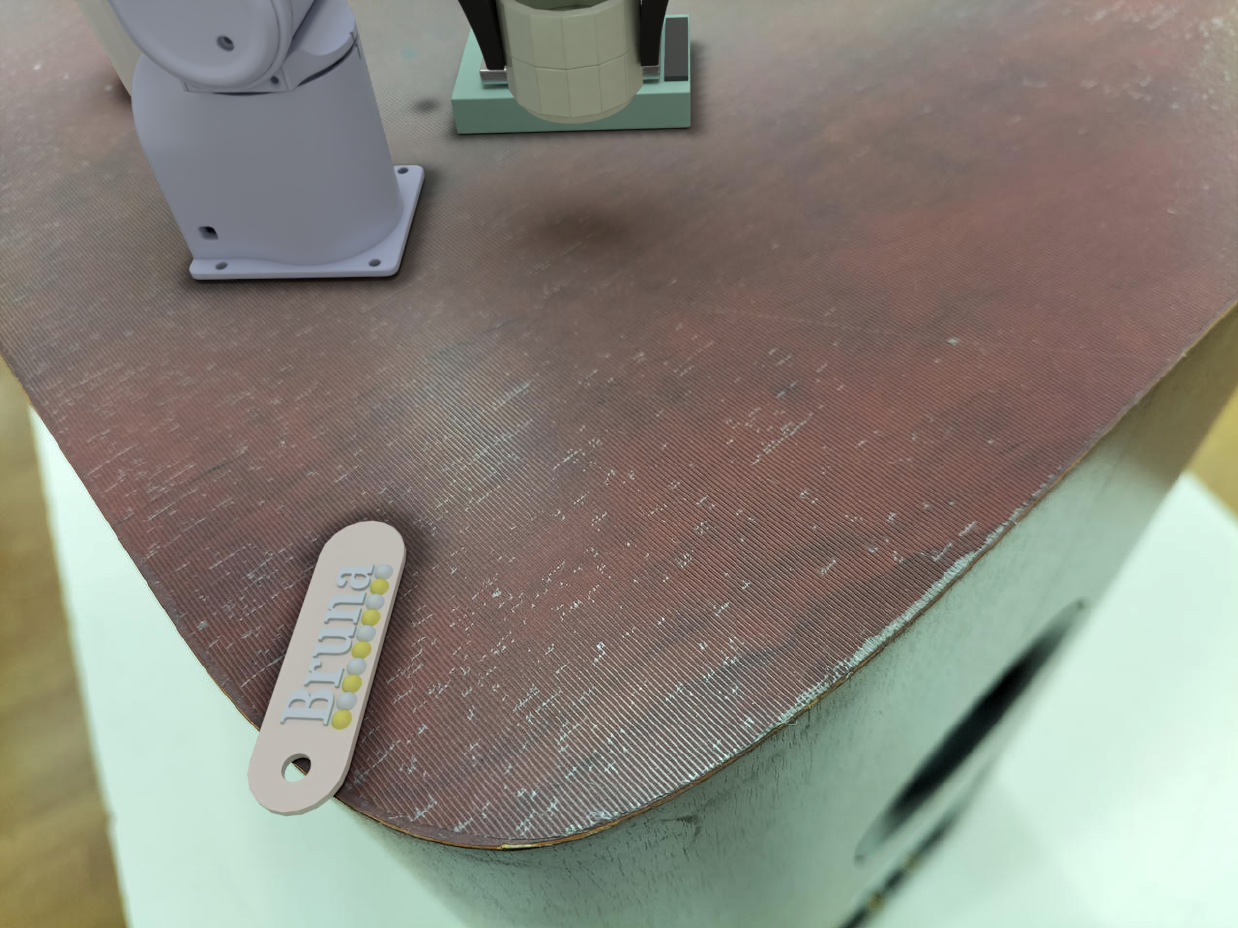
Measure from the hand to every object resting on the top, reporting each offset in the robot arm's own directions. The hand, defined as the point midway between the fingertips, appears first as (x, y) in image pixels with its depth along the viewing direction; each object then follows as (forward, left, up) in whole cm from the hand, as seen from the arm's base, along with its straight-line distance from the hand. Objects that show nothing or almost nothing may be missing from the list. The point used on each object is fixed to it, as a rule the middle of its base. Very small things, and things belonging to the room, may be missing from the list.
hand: (573, 55), depth 40 cm
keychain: (-5, -22, -8) cm, 24 cm away
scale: (-1, +12, -8) cm, 15 cm away
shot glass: (-24, +15, -9) cm, 30 cm away
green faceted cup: (0, 0, -2) cm, 2 cm away
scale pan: (-1, +12, -6) cm, 14 cm away
